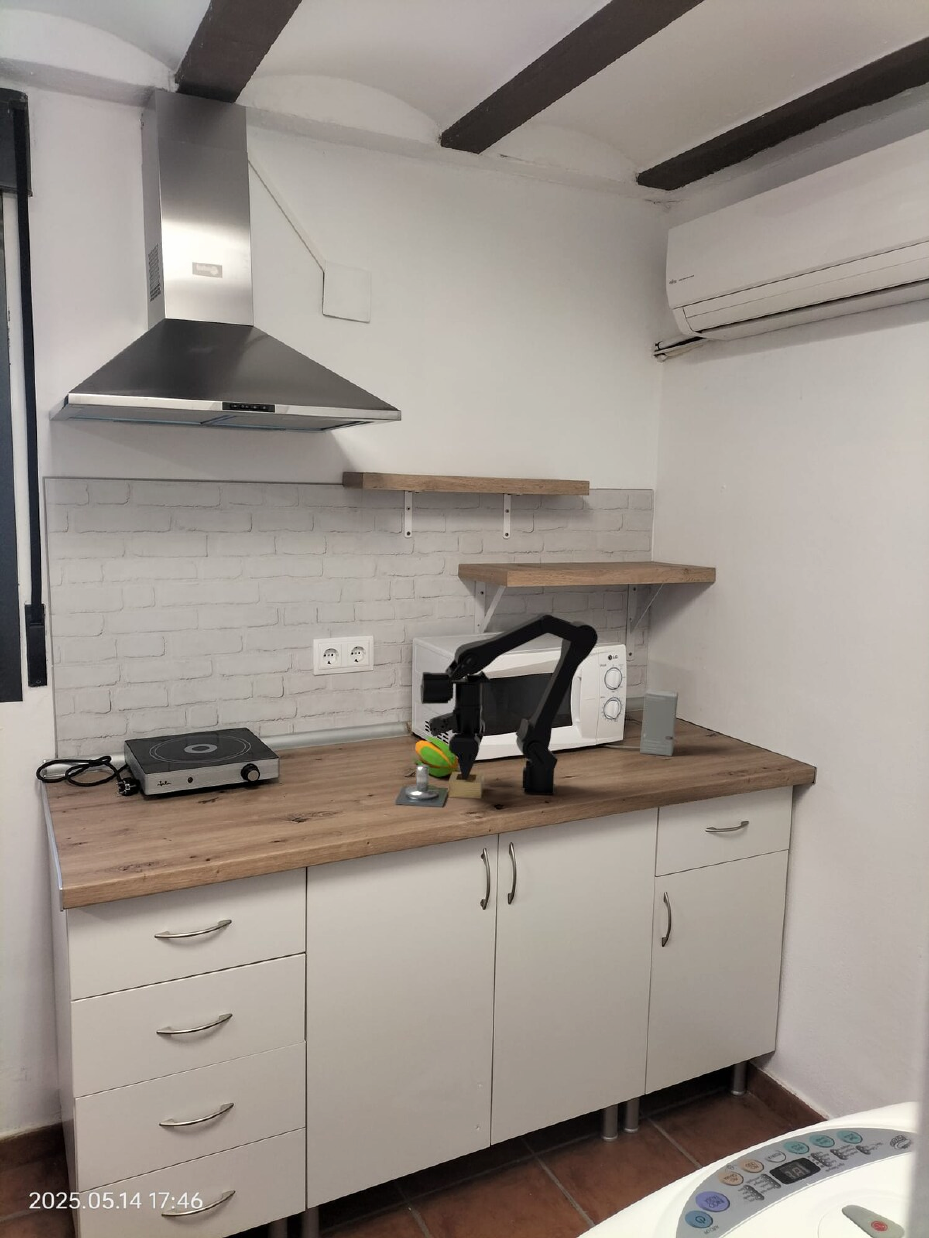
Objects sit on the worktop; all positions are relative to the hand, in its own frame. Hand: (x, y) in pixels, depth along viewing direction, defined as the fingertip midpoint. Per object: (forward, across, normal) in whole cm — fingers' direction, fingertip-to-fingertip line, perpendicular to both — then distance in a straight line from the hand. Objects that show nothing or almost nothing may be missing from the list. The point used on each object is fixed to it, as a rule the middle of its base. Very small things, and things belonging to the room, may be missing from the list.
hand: (467, 772), depth 200 cm
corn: (+5, -16, -10) cm, 19 cm away
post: (+4, +5, -9) cm, 11 cm away
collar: (+5, 0, 0) cm, 5 cm away
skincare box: (+5, -40, +46) cm, 61 cm away
